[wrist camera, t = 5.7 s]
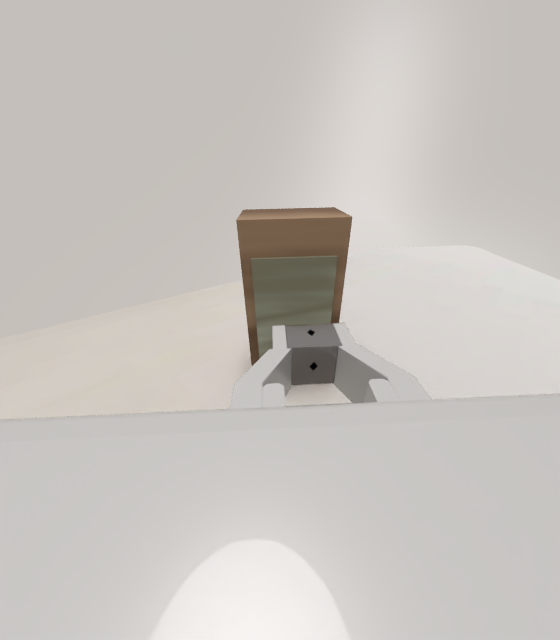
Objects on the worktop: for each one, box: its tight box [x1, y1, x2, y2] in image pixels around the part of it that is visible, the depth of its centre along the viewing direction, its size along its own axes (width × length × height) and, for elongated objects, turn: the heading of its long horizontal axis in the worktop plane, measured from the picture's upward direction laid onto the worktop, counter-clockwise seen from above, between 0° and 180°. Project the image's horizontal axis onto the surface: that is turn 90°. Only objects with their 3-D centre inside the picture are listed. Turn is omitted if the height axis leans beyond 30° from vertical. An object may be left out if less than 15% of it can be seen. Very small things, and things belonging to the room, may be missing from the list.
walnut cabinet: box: [237, 207, 352, 366], centre depth 17 cm, size 4×6×12 cm
